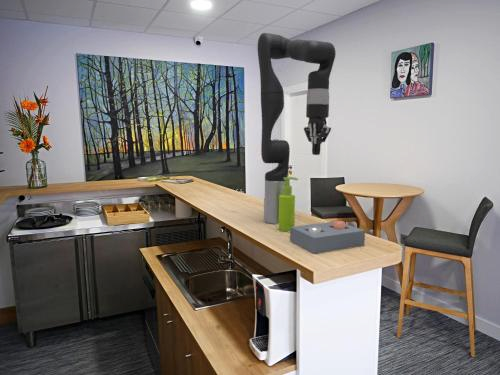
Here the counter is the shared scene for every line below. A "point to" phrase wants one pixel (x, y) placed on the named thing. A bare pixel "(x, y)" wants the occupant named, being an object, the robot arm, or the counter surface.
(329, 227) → the plug board
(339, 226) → the terracotta plug
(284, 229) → the soap dispenser
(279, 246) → the counter surface
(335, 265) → the counter surface
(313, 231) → the steel plug
